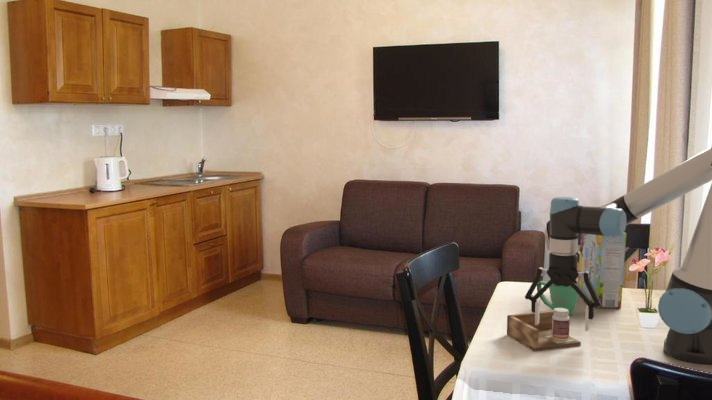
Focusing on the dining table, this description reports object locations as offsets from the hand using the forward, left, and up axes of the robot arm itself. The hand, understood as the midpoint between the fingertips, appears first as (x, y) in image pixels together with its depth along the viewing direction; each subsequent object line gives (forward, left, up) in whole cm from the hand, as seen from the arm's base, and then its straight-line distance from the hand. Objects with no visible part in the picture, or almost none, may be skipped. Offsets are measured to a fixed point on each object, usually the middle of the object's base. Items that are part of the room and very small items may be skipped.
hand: (561, 326), depth 180 cm
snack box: (+32, -39, -5) cm, 51 cm away
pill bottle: (0, 0, -4) cm, 4 cm away
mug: (+24, -16, -5) cm, 29 cm away
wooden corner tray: (+3, +4, -5) cm, 7 cm away
